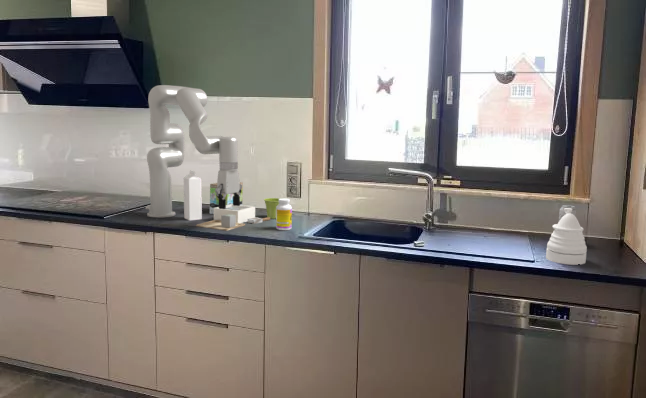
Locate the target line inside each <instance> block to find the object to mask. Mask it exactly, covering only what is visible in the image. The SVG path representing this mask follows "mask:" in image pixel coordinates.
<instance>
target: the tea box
mask: <svg viewBox="0 0 646 398" xmlns="http://www.w3.org/2000/svg"><path fill="white" fill-rule="evenodd" d="M239 182H240V181H239ZM240 184H241V185H242V192H241V196H239V197H240V205H243V191H244V189H243V188H244V185H243V181H241V182H240ZM216 188H217V182H213V183H209V214H210V215H211V214H213V215H214V208H216V207H219V199H218V197H217V196H216V192H215V189H216ZM222 196H223V195H222ZM233 196H234V195H233V193H232V194H227V195H226V197H225V199H226V205H230V204H233Z"/></svg>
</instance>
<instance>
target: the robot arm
mask: <svg viewBox="0 0 646 398" xmlns="http://www.w3.org/2000/svg"><path fill="white" fill-rule="evenodd" d="M147 97H148V98H147V99H148V101H147V103H148V109H149V114H150V117H149V119H150V120H149V121H150V122H149V124H150V125H149V127H150V128H149V130H150V132H149V133H150V135H149V136H150V140H151V142H152V143H153V144H156V145H168V146H159V147H153V148H151V149H150V150H148V152H147V154H146V161H147V166H148V172H149V193H150V194H149V196H150V198H149V200H150V204H148V205H147V206H145V210H147V211H148V212H147V214H146V215H147V217H150V218H163V219H164V218H171V217H174V216H176V211H173V199H172V198H173V197H172V195H173V194H172V193H173V192H172V191H173V190H172V176H171V173H170V171H169V169H168V168H176V167H180V166H181V165H182V164H183V163H184V160H185V132H184V129H183V128H182V126H181V125H180V124H178V123H172V122H171V114H170V111H169V109H168V107H167V106H168V105H170V106H171V105H173V106H179V108H180V109H181V111H182V113H183V114H184V116H185V118H186V119H187V121H188V123H189V125H188V137H189V139H190V141H191V143H192V145H193V146H194V149H196V151H197V152H198V153H200V154H202V155H213V154H214V155H215V154H216V155H218V157H219V161H218V162H219V170H218V173H217V179H216V180H217V182H216V183H217V188H216V189H215V192H216V196H217V197H218V199H219V209H226V199H225V197H226V195H227V194H232V193H233V195H234V196H233V205H234V206H240V197H239V196H241V192H242V185H241V184H240V173H239V168H238V167H239V166H238V165H239V163H238V158H239V157H238V139H237V137H235V136H223V135H206V134H205V133H204V132H203V130H202V129H201V125H202V124H203V123H205V121H207V119H208V116H209V115H208V112H207V111H206V109H205V107H206V106H207V103H208V96H207V93H206V92H205V91H204V90H203V89H201V88H195V87H189V86H181V85H168V84H161V85H159V84H158V85H155V86H153V87H152V88H151V89H150V91H149V93H148V96H147ZM222 195H223V196H222Z"/></svg>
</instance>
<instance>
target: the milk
mask: <svg viewBox="0 0 646 398" xmlns="http://www.w3.org/2000/svg"><path fill="white" fill-rule="evenodd" d="M202 190H203V189H202V177H199V176H198V175H197V174H196V171H194V170H189V174H186V176H184V177H183V211H184V212H183V213H184V214H183V216H184V219H185V220H188V221H196V220H202V219H203V211H202V210H203V209H202V208H203V206H202V204H203V203H202V202H203V201H202V200H203V199H202V198H203V195H202Z"/></svg>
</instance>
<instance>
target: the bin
mask: <svg viewBox="0 0 646 398" xmlns="http://www.w3.org/2000/svg"><path fill="white" fill-rule="evenodd" d="M228 207H238V211H237V210H229V209H219V207H216V208H214V214H213V220H221V215H225V214H232V215H236V223H243V224H244V223H246V222H247V219H249V218H255V217H256V206H251V205H243V204H242V205H240V206H234V205H233V204H230V205H226V208H228Z"/></svg>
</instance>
